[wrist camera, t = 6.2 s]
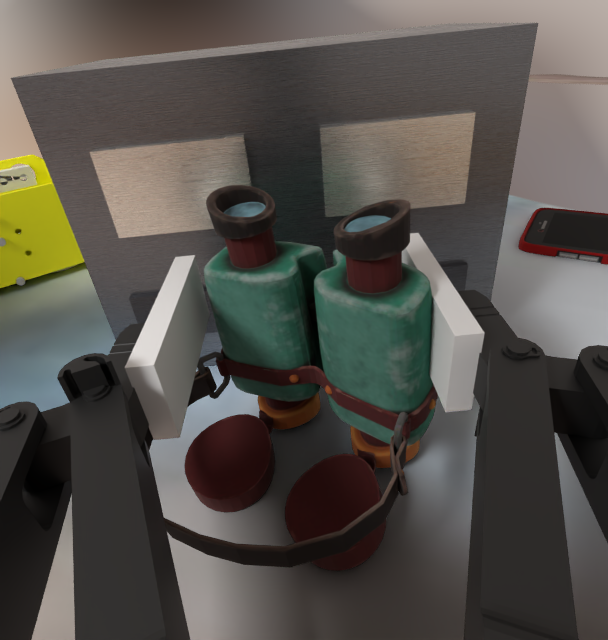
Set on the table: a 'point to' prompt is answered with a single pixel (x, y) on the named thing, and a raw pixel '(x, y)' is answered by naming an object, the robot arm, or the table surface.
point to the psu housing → (284, 147)
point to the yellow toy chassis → (32, 224)
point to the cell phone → (567, 234)
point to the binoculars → (312, 375)
